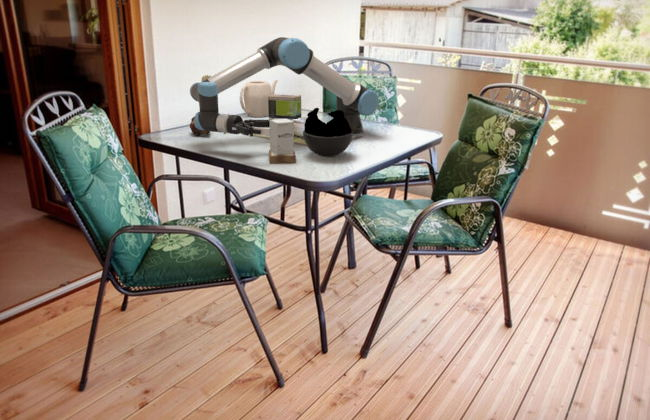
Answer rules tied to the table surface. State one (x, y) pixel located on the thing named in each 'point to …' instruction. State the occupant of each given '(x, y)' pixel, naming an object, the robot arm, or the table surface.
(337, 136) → the bowl of black rocks
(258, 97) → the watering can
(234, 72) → the robot arm
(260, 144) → the table surface
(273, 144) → the supplement box
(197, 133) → the painted clay ocarina
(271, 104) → the tea box
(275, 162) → the walnut base
